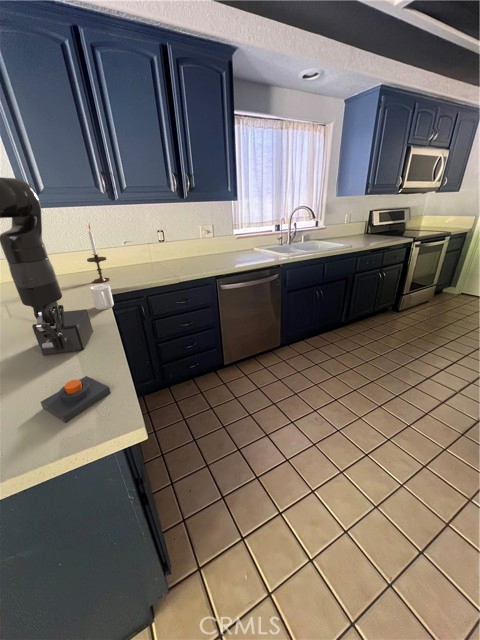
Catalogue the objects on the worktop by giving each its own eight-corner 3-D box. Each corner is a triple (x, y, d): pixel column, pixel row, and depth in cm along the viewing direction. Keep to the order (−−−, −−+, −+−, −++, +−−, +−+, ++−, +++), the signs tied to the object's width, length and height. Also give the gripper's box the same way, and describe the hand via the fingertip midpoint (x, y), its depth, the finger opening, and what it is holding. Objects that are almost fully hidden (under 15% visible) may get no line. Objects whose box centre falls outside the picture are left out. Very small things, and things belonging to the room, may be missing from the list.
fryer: (84, 349, 92) (76, 325, 88) (42, 355, 89) (33, 330, 85) (93, 331, 105) (87, 309, 101) (57, 335, 102) (49, 312, 98)
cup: (113, 302, 134) (108, 283, 130) (115, 310, 125) (111, 289, 120) (95, 305, 130) (90, 285, 126) (96, 313, 121) (91, 292, 117)
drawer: (77, 356, 87) (70, 335, 83) (37, 361, 84) (28, 340, 81) (89, 332, 102) (84, 313, 99) (56, 336, 100) (50, 317, 96)
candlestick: (103, 277, 177) (90, 222, 162) (114, 279, 172) (102, 222, 158) (88, 282, 168) (73, 224, 153) (100, 284, 164) (85, 224, 149)
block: (65, 423, 62) (60, 410, 60) (43, 408, 66) (37, 396, 64) (110, 393, 71) (107, 381, 69) (88, 382, 76) (84, 370, 74)
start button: (71, 396, 65) (69, 390, 64) (63, 391, 66) (61, 386, 66) (85, 387, 68) (83, 382, 67) (77, 383, 69) (75, 378, 69)
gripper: (29, 274, 63) (53, 338, 70) (0, 291, 51) (32, 366, 58) (64, 271, 64) (84, 334, 72) (44, 287, 53) (70, 360, 60)
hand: (61, 348), depth 65 cm, fingers closed
